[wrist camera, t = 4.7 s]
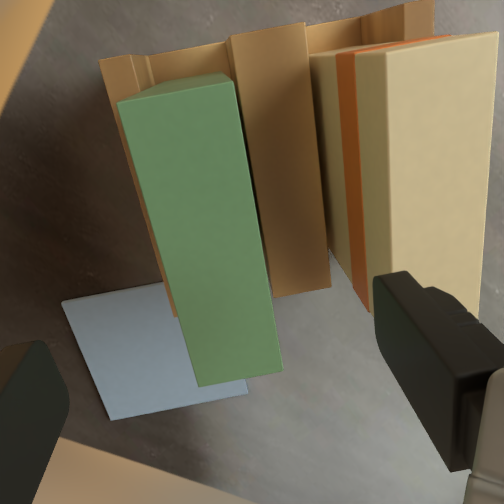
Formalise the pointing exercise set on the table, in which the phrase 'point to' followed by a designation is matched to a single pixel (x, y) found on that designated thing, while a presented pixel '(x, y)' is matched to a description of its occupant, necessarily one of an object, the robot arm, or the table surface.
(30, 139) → the table surface
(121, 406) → the felt pad
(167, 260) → the green book
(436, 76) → the cream book
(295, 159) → the book rack
